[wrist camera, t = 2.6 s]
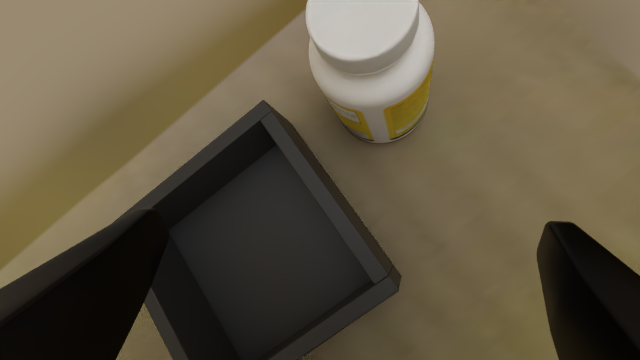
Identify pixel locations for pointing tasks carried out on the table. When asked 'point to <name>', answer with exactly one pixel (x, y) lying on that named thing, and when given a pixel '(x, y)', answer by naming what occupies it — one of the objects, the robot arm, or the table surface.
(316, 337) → the bin
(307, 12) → the supplement bottle
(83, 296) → the robot arm
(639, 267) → the table surface
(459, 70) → the table surface
